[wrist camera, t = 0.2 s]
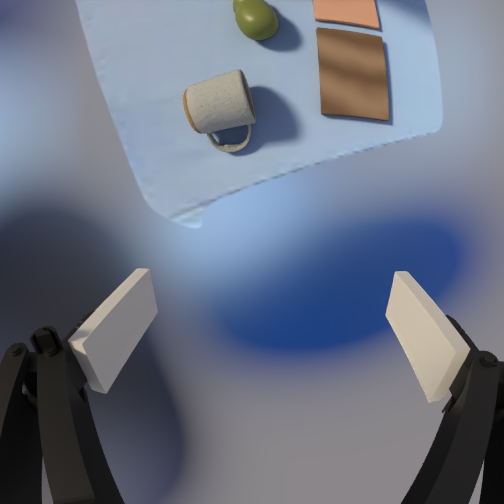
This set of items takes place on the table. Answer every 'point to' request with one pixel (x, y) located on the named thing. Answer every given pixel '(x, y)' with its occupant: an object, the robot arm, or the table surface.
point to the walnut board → (352, 74)
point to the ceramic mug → (220, 107)
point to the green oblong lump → (255, 18)
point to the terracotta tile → (347, 12)
